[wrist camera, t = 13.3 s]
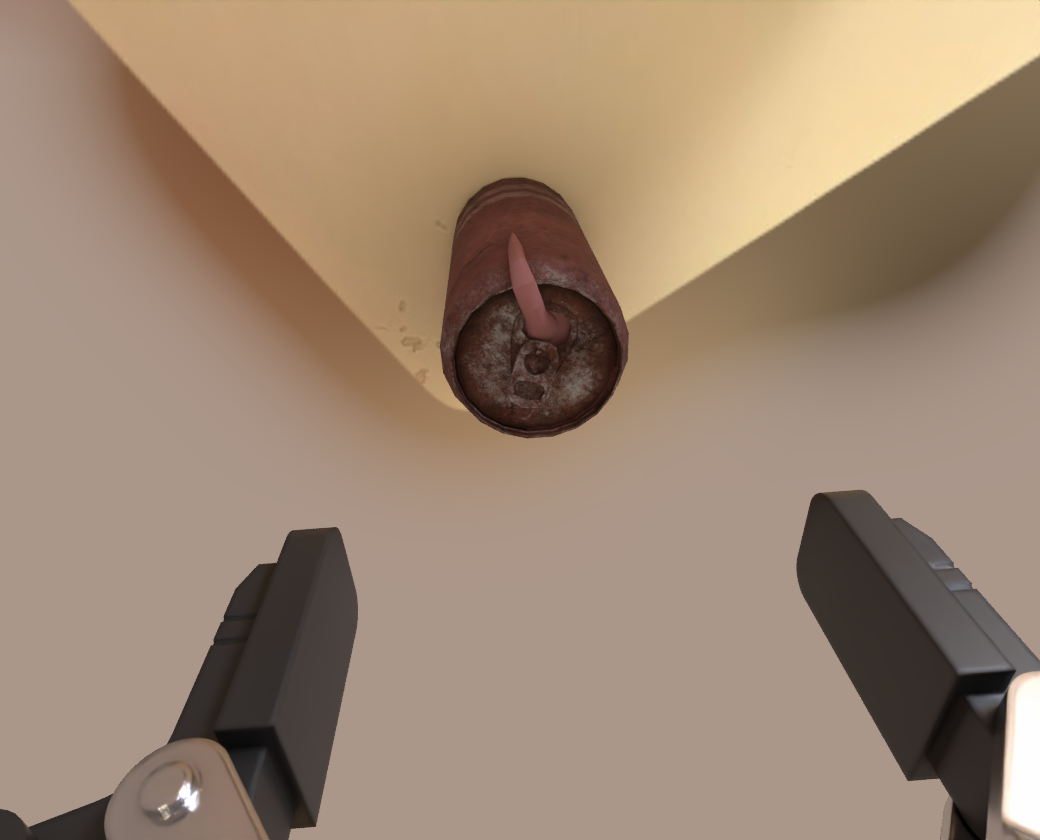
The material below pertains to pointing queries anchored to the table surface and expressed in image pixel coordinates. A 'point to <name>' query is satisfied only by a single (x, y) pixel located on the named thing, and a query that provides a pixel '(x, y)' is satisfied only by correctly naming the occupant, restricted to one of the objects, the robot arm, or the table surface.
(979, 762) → the robot arm
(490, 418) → the can
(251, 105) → the table surface
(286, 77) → the table surface
